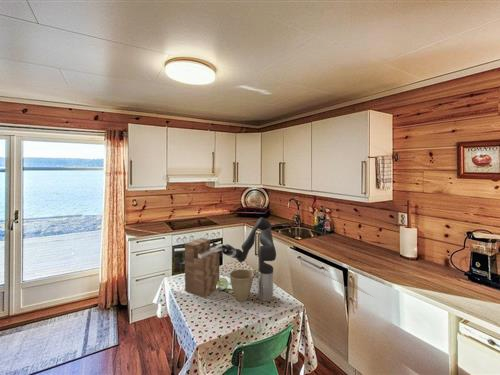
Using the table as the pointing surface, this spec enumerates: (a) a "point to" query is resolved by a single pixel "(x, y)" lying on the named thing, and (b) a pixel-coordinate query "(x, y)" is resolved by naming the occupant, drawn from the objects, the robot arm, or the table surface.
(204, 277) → the walnut stand
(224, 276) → the table surface
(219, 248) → the aluminium bar
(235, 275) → the plant pot
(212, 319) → the table surface
